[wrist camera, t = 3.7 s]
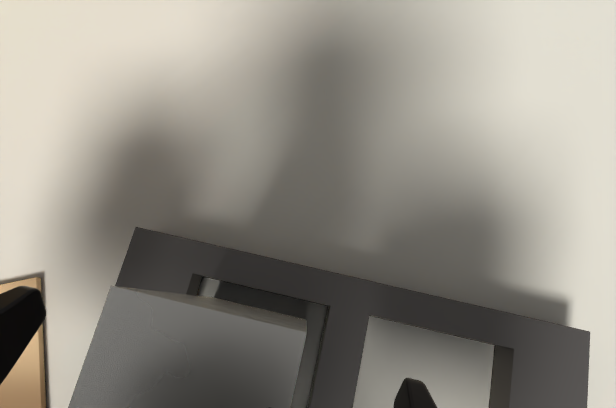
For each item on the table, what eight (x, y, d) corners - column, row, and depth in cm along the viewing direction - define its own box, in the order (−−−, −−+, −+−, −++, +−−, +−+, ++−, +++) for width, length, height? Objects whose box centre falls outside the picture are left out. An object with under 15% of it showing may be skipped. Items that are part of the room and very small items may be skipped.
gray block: (306, 319, 16) (306, 332, 8) (283, 423, 15) (253, 576, 7) (213, 297, 16) (111, 285, 8) (184, 398, 15) (29, 515, 7)
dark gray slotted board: (564, 329, 16) (589, 331, 15) (551, 554, 14) (579, 582, 13) (150, 233, 17) (135, 226, 16) (83, 432, 15) (59, 446, 14)
